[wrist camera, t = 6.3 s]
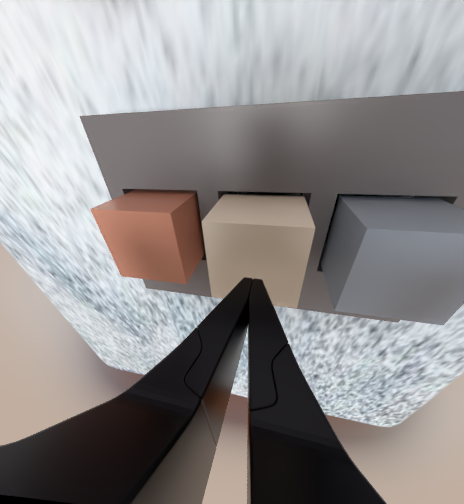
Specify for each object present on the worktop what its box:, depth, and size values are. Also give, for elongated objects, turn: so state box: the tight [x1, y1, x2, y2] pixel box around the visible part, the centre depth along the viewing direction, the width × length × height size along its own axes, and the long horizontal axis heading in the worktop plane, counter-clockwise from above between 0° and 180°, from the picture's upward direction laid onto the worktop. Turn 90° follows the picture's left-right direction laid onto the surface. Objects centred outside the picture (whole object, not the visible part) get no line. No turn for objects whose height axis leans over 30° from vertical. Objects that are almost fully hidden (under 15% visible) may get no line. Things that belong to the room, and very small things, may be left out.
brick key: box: [91, 189, 205, 284], centre depth 13 cm, size 5×5×4 cm
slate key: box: [321, 196, 464, 325], centre depth 10 cm, size 5×5×4 cm
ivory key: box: [202, 194, 315, 309], centre depth 11 cm, size 5×5×4 cm
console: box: [80, 91, 464, 322], centre depth 14 cm, size 22×14×3 cm, turn 92°
